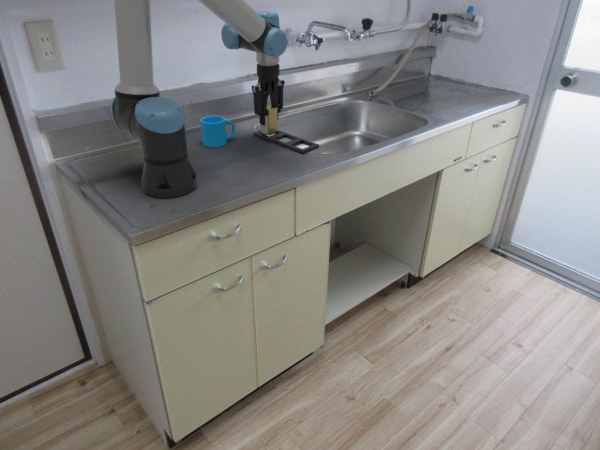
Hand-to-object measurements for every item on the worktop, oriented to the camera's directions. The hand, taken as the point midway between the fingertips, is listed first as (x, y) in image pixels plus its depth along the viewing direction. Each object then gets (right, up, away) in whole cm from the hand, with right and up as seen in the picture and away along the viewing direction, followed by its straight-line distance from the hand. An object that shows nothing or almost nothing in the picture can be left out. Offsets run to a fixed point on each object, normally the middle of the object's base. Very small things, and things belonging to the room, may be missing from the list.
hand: (269, 131), depth 162 cm
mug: (-17, -5, -4) cm, 18 cm away
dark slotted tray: (+6, -4, -4) cm, 8 cm away
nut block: (0, 0, 0) cm, 0 cm away
